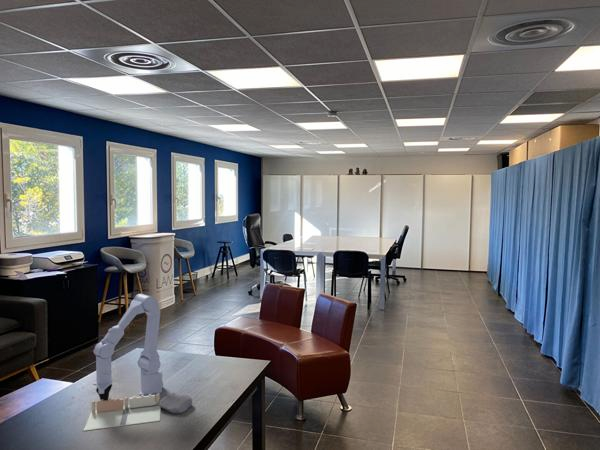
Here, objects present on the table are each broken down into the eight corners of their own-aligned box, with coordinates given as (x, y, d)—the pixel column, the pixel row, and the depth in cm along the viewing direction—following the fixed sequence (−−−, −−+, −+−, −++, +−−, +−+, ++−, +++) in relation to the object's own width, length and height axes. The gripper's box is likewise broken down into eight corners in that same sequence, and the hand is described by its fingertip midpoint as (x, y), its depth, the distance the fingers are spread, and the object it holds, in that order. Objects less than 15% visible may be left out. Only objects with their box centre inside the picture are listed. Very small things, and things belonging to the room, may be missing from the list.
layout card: (161, 401, 182) (161, 400, 182) (159, 421, 166) (159, 420, 166) (92, 409, 174) (92, 408, 174) (83, 431, 158) (83, 430, 158)
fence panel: (123, 407, 175) (123, 396, 175) (123, 409, 174) (123, 398, 173) (91, 411, 172) (91, 400, 171) (91, 413, 170) (91, 401, 170)
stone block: (180, 419, 170) (194, 403, 179) (179, 408, 169) (193, 393, 178) (156, 414, 174) (170, 399, 183) (154, 404, 173) (169, 389, 182)
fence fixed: (160, 404, 179) (159, 392, 179) (159, 406, 178) (159, 394, 177) (124, 408, 175) (124, 396, 175) (124, 410, 174) (124, 398, 174)
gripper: (96, 366, 182) (97, 397, 183) (89, 379, 168) (90, 412, 169) (114, 364, 184) (114, 395, 185) (109, 377, 170) (109, 410, 171)
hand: (104, 403), depth 177 cm, fingers closed
